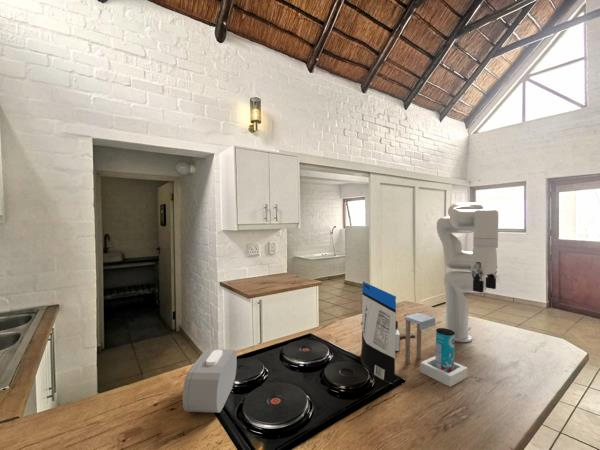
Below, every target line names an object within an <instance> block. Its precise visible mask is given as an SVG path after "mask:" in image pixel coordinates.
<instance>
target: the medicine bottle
mask: <svg viewBox="0 0 600 450" xmlns="http://www.w3.org/2000/svg"><path fill="white" fill-rule="evenodd" d="M398 322H399V321H398V320H396V330H395V352H400V350H401V339H400V334H399V331H398V325H399V323H398Z"/></svg>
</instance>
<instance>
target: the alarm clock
mask: <svg viewBox="0 0 600 450" xmlns="http://www.w3.org/2000/svg"><path fill="white" fill-rule="evenodd" d="M237 358H238V357H237V351H236V349H223V348H222V349H221V348H220V349H219V348H218V349H217V348H216V349H215V348H207V349H205V350H204V351H203V352H202V353H201V354H200V356H199V357H198V358H197V360H196V361H195V362H194V363H193V365H191V367H190V368H189V370H188V371H187V373H186V376H185V378H184V383H183V388H182V401H181V402H182V407H183V410H184V411H185V412H192V413H214V414H215V413H217V414H218V413H221V412H222V410H223V408H224V406H225V404H226V402H227V400H228V398H229V396H230V393H231V392H232V389H233V387H234V384H233V382H234V383H235V381H236V375H237V366H238V365H237V363H238V362H237ZM234 380H235V381H234Z"/></svg>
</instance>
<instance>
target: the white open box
mask: <svg viewBox="0 0 600 450" xmlns="http://www.w3.org/2000/svg"><path fill="white" fill-rule="evenodd" d="M404 320H405V329H406V338H405V354H404V355H405V357H404V360H405V362H404V363H406V364H407V365H408V364H410V363H411V338H410V333H411V322H412V323H413V324H416V353H415V354H416V359H419V360H420V359H422V330H426V329H428V328H432V327H435V326H436V317H435V316H431V315H429V314H425V313H421V312H416V313H413V314H410V315H409V314H408V315H405V316H404ZM419 369H420V372H419V373H421V374H423V375H426V376H427V377H430V378H432V379H434V380H435V381H438V382H439V383H441V384H444V386H445V385H446V386H447V387H449V388H451V387H452V386H454V385H456V384H458V383H460V382H462V381H464V380H465V379H466V378H468V367H467V366H465V365H462V364H460V363H457V362H455V361H454V371H452V372H450V373H447V372H445V371H443V370H441V369H438V368H436V355H434V356H432V357H430V358H427V359H425V360H422V361H421V362H420V368H419Z"/></svg>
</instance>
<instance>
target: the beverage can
mask: <svg viewBox="0 0 600 450" xmlns="http://www.w3.org/2000/svg"><path fill="white" fill-rule="evenodd" d="M454 334H455V333H454V332H453V331H452V330H449V329H445V328H444V327H442V328H441V327H438V328H436V330H435V356H436V368H438V369H441V370H443V371H445V372H447V373H450V372H452V371H454V362H455V341H454Z"/></svg>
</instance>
